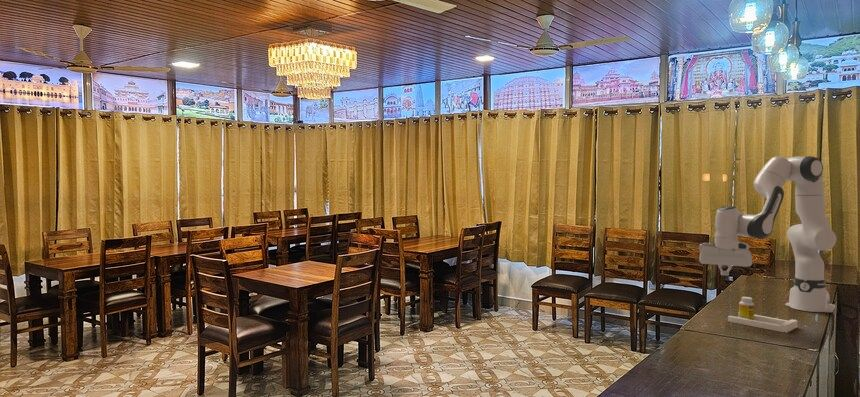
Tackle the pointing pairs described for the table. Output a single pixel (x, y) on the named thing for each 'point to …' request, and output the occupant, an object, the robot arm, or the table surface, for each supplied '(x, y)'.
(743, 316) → the supplement bottle
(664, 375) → the table surface
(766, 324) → the u rest
